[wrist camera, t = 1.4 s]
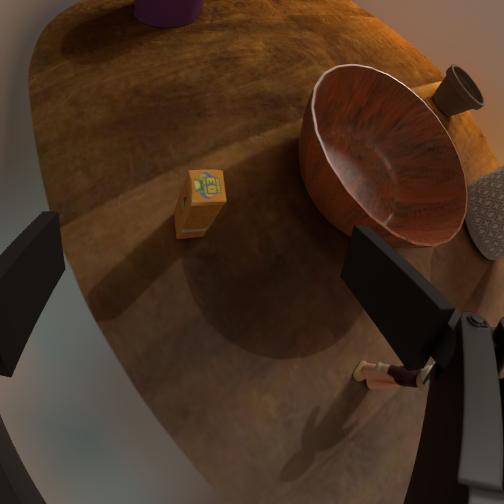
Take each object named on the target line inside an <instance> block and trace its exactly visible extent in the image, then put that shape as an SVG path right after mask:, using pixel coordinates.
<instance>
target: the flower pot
mask: <svg viewBox="0 0 504 504" xmlns="http://www.w3.org/2000/svg"><path fill="white" fill-rule="evenodd" d="M446 74H447V75H446V77H445V78H444V80H443V81H442V83H441V84H440V85H439V87H438V88H437V90H436V91H435V93H434V95H433V98H434V101H435V103H436V105H437V107H438V108H439V109H440V110H441V111H442V112H443V113H444V114H445V115H447V116H453V115H456V114H459V113H462V112H464V111H467V110H470V109H475V110H478V109H480V108H481V107H483V106H484V105H485V101H484V98H483V95H482V93H481V91H480V90H479V88H478V86H477V85H476V83H475V82H474V81H473V79H472V78H471V77H470V76H469V75H468V74H467V73H466V72H465V71H464V70H463V69H462V68H461V67H459V66H457V65H454V64H453V65H451V67H449V68H448V69H447V71H446Z"/></svg>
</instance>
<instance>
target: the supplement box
mask: <svg viewBox="0 0 504 504" xmlns="http://www.w3.org/2000/svg"><path fill="white" fill-rule="evenodd" d="M226 201H227V200H226V193H225V185H224V178H223V171H222V170H189V172H188V174H187V177H186V180H185V182H184V185H183V188H182V191H181V193H180V196H179V199H178V202H177V205H176V208H175V211H174V220H175V231H176V238H177V239H186V238H195V237H203V236H204V235H205V233H206V232H207V230H208V229H209V227H210V226H211V224H212V222H213V221H214V219H215V218H216V216H217V215H218V213H219V212H220V210H221V208H222V207H223V205H224V204H225V202H226Z"/></svg>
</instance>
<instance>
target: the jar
mask: <svg viewBox="0 0 504 504" xmlns="http://www.w3.org/2000/svg"><path fill="white" fill-rule="evenodd" d="M203 2H204V0H134V8H133V14H134V16H135V17H136V19H138V20H139V21H140V22H142V23H144V24H147V25H150V26H155V27H163V28H171V27H180V26H184V25H187V24H190V23H192V22H194V21H195V20H196V19H197V18H198V17H199V15H200V13H201V9H202V6H203Z"/></svg>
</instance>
